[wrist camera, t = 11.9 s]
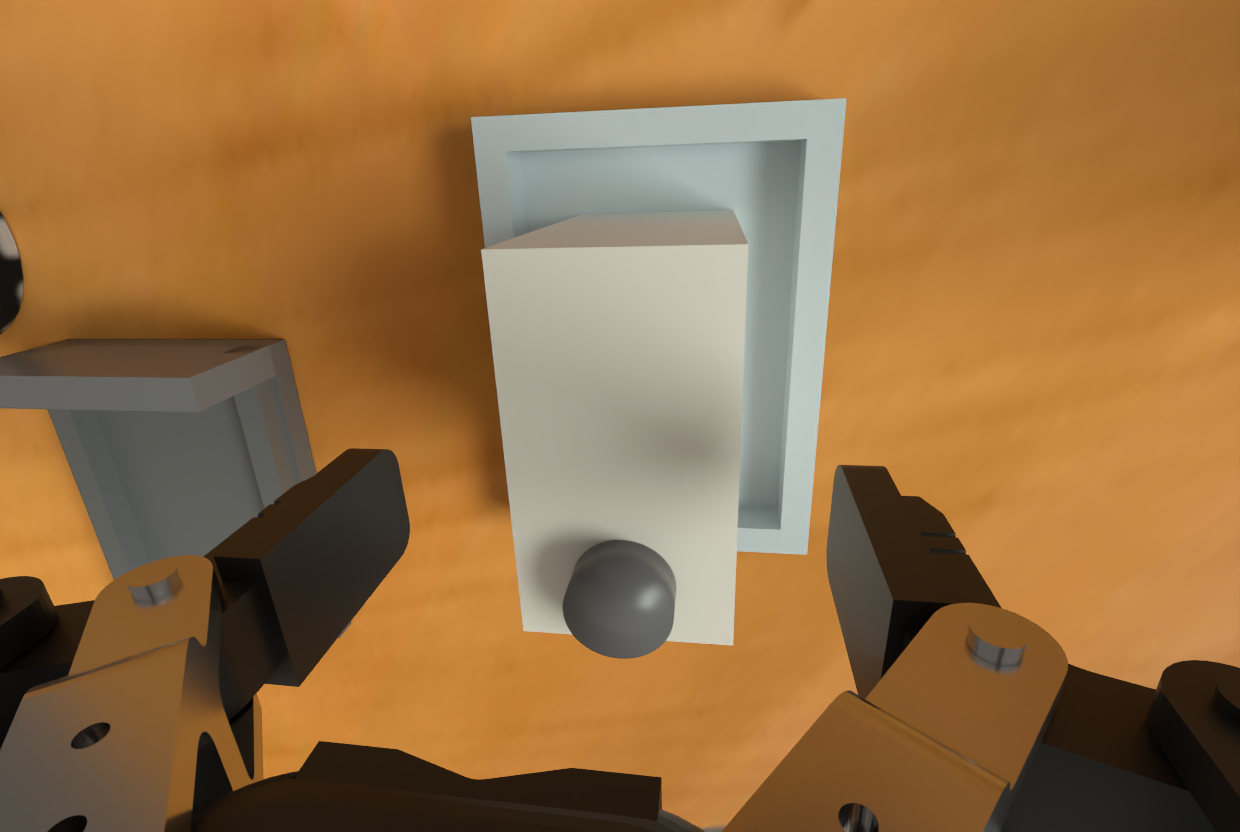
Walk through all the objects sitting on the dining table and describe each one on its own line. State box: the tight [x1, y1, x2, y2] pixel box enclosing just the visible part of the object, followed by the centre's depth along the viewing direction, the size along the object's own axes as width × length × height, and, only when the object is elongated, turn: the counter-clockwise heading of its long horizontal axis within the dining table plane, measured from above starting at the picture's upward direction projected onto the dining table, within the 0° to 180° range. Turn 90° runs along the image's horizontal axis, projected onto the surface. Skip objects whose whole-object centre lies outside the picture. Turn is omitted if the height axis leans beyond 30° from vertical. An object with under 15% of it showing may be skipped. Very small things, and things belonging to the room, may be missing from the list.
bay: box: [0, 339, 351, 638], centre depth 26 cm, size 14×10×5 cm
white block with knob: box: [481, 210, 748, 659], centre depth 17 cm, size 9×5×11 cm, turn 2°
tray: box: [471, 98, 847, 555], centre depth 22 cm, size 15×11×2 cm
